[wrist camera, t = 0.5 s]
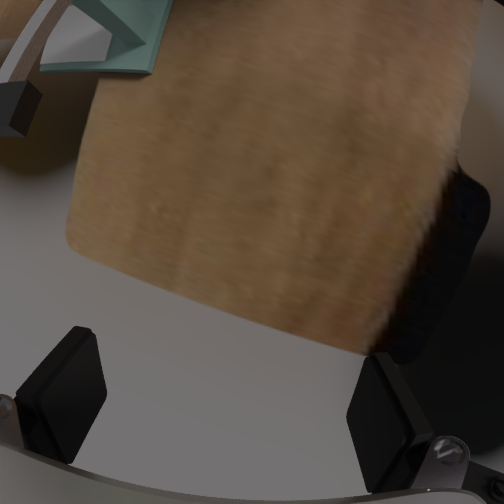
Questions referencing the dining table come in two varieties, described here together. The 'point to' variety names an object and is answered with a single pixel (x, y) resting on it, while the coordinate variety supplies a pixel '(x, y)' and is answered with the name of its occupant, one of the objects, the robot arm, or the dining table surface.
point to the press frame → (107, 36)
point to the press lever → (25, 70)
